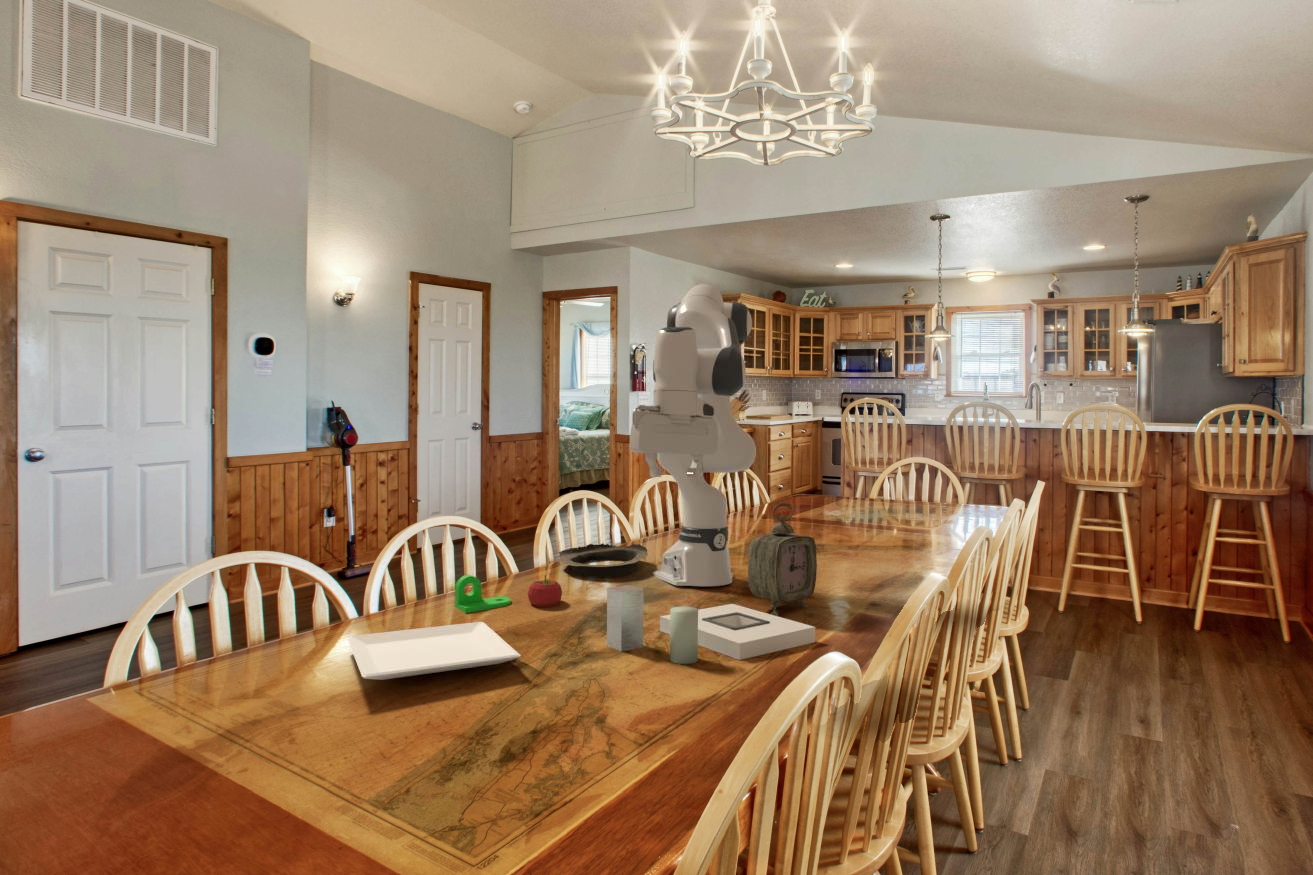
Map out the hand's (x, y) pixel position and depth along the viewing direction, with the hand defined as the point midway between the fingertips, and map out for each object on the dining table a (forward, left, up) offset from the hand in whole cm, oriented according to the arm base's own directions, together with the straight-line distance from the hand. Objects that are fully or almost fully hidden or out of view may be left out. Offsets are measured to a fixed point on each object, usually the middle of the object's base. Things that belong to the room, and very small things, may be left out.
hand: (674, 477), depth 149 cm
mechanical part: (-44, -21, -32) cm, 58 cm away
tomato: (-37, -9, -32) cm, 50 cm away
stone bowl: (-56, +19, -32) cm, 67 cm away
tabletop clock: (-3, +33, -32) cm, 46 cm away
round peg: (+12, -7, -32) cm, 35 cm away
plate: (-17, -43, -33) cm, 56 cm away
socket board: (+6, +11, -32) cm, 34 cm away
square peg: (-1, -11, -32) cm, 34 cm away
